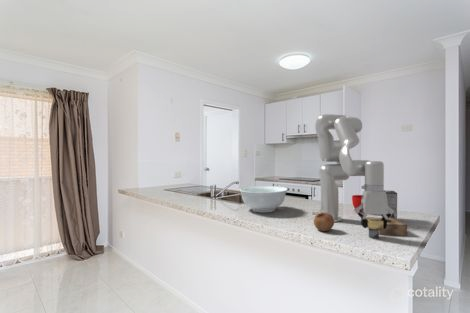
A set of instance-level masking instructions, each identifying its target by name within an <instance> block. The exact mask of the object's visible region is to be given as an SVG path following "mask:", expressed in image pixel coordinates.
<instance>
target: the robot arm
mask: <svg viewBox="0 0 470 313" xmlns="http://www.w3.org/2000/svg"><path fill="white" fill-rule="evenodd" d="M314 126H315V127H314V128H315V133H316V136H317V139H318V149H319V150H318V151H319V157H320V160H321V161H322V162H325V163H326V164H324V165H321V166H320V167H319V170H318V176H319V182H320V209H319V210H318V211H312V213H311V214H312V216H314V217H315V216H316V215H317V214H319V213H329V214H330V215H332V217H333V219H334V223H338V222H341V221H342V217H341V216H339V186H338V185H337V183H336V181H339V182H340V181H347V180H348V179H349V178H350V177H364V184H363V185H361V189H362V190H363V191H362V194H361V195H362V200H361V205H360V206H358V207H357V208H354V212H355V213H356V214H357V215H358V216H359V217H360V222H361V224H360V225H361V227H362V228H363V229H367V227H366V219H365V218H366V217H368V215H371V216H372V215H375V216H381V218H382V219H383V220H384V229H386V226H387V220H388V218H389V217H390V216H391V215H392V214H393V212H394V210H393V209H391V208H390V207H389V206H388V201H387V195H386V192H384V190H385V186H384V185H385V183H384V181H385V180H384V179H385V178H384V177H385V176H384V174H385V171H384V170H385V165H384V162H383V161H378V160H366V159H355V160H353V159H352V156H351V154H350V150H351V149H353V148H355V147H356V146H357V145H359V143H360V138H359V136H358V133H360V132H361V131H362V129H363V122H362V120H361V119H360V118H359V117H355V116H350V115H345V114H334V113H333V114H329V113H326V114H321V115H319V116H318V117H317V118H316V121H315V124H314ZM329 130H335V132H336V135H337V137H338V141H339V142H340V144H341V145H336V144H335V138H334V136H333V134H332V133H331V131H329ZM327 163H328V164H327ZM360 209H361V211H362V213H360V212H359V210H360ZM388 210H389V212H388Z"/></svg>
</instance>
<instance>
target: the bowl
mask: <svg viewBox="0 0 470 313" xmlns="http://www.w3.org/2000/svg"><path fill="white" fill-rule="evenodd" d="M239 192H240V193H241V199H242V201H243V203H244V204H245V205H246V206H248V207H249V208H251V210H252V212H255V213H262V214H263V213H266V214H267V213H273V212H275V211H276V209H277V208H279V207H280V206H281V205H282V204H283V203H284V201H285V198H286V194H287V192H288V188H287V187H282V186H271V185H254V186H253V185H252V186H243V187H240V188H239Z"/></svg>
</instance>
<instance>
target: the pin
mask: <svg viewBox="0 0 470 313" xmlns="http://www.w3.org/2000/svg"><path fill="white" fill-rule="evenodd" d="M380 218H381V217H374V216H366V218H365V219H366V229H368V237H369V238H370V239H374V240H375V239H377V240H379V238H380V235H379V229H384V220H383V219H380Z"/></svg>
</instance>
